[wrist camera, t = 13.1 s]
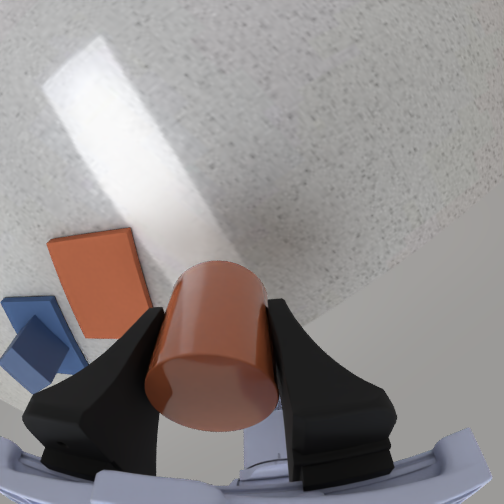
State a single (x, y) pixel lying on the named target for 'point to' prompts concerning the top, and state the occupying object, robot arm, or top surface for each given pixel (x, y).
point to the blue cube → (34, 356)
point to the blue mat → (52, 318)
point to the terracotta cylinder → (215, 351)
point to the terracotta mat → (101, 281)
